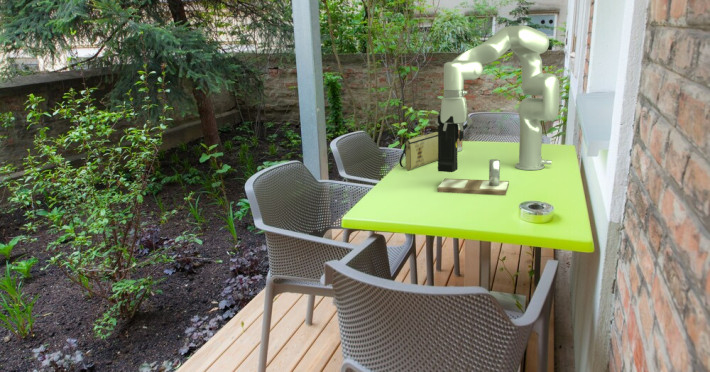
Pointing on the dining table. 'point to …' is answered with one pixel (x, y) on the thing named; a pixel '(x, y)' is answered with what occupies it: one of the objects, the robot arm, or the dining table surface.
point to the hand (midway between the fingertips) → (453, 140)
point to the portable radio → (447, 146)
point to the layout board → (472, 187)
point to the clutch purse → (420, 151)
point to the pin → (494, 172)
